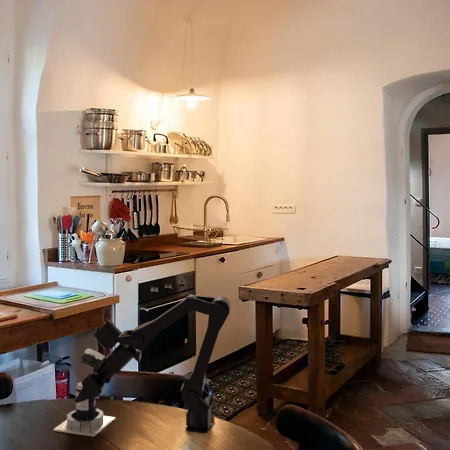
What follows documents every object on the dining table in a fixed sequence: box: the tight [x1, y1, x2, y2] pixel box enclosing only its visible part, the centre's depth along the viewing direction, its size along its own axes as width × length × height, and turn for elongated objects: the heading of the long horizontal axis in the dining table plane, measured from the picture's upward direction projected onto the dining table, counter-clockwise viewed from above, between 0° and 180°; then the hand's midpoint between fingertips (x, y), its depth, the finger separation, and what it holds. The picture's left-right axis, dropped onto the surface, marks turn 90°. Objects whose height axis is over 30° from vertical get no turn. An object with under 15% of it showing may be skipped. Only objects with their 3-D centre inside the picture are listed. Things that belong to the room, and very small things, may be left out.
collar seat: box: [53, 408, 116, 437], centre depth 173 cm, size 13×13×3 cm
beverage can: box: [75, 380, 97, 420], centre depth 173 cm, size 6×6×12 cm
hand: (80, 396), depth 173 cm, fingers open, 9 cm apart
